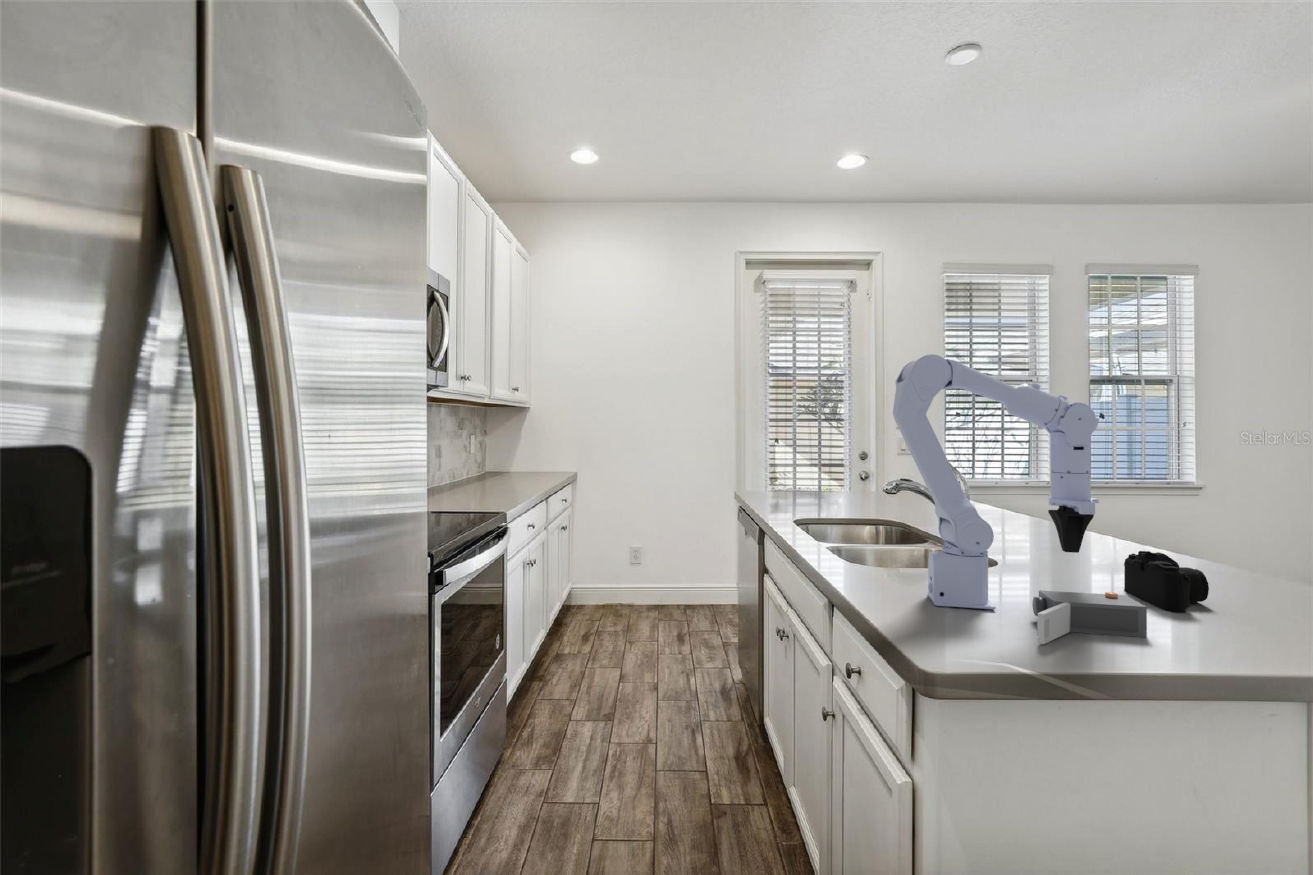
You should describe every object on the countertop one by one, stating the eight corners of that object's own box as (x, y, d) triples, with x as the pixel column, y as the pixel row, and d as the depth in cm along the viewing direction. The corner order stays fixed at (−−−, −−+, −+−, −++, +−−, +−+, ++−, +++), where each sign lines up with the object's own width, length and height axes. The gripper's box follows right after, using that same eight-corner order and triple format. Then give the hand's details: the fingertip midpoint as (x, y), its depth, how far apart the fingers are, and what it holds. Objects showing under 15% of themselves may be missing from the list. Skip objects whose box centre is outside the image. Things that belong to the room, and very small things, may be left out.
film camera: (1231, 616, 101) (1231, 562, 101) (1164, 613, 103) (1163, 560, 103) (1174, 594, 116) (1174, 546, 116) (1116, 591, 118) (1116, 544, 118)
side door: (1064, 629, 93) (1064, 601, 93) (1072, 631, 92) (1072, 603, 92) (1036, 642, 87) (1036, 612, 87) (1045, 644, 86) (1045, 614, 86)
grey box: (1046, 630, 94) (1045, 597, 94) (1030, 617, 100) (1030, 586, 100) (1147, 637, 90) (1147, 603, 90) (1124, 623, 97) (1123, 591, 97)
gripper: (1117, 475, 97) (1117, 561, 97) (1079, 470, 111) (1079, 545, 111) (1066, 474, 99) (1066, 558, 99) (1036, 470, 113) (1036, 543, 113)
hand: (1070, 551), depth 105 cm, fingers closed
